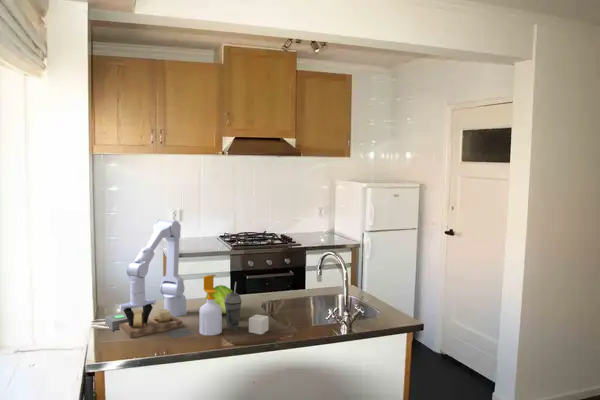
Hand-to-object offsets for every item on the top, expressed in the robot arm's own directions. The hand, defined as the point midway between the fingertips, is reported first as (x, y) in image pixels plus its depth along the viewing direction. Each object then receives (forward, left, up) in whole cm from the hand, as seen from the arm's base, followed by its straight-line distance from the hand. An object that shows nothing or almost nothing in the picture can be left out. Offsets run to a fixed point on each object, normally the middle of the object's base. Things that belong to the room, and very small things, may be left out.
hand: (138, 324), depth 210 cm
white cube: (-40, +28, -4) cm, 49 cm away
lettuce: (-39, 0, -4) cm, 40 cm away
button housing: (+4, -12, -3) cm, 13 cm away
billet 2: (-11, 0, -3) cm, 12 cm away
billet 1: (0, 0, -2) cm, 2 cm away
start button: (+4, -12, -2) cm, 13 cm away
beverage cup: (-33, +19, -4) cm, 39 cm away
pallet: (-5, 0, -3) cm, 6 cm away
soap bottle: (-23, +18, -4) cm, 30 cm away
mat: (-12, +12, -3) cm, 18 cm away
